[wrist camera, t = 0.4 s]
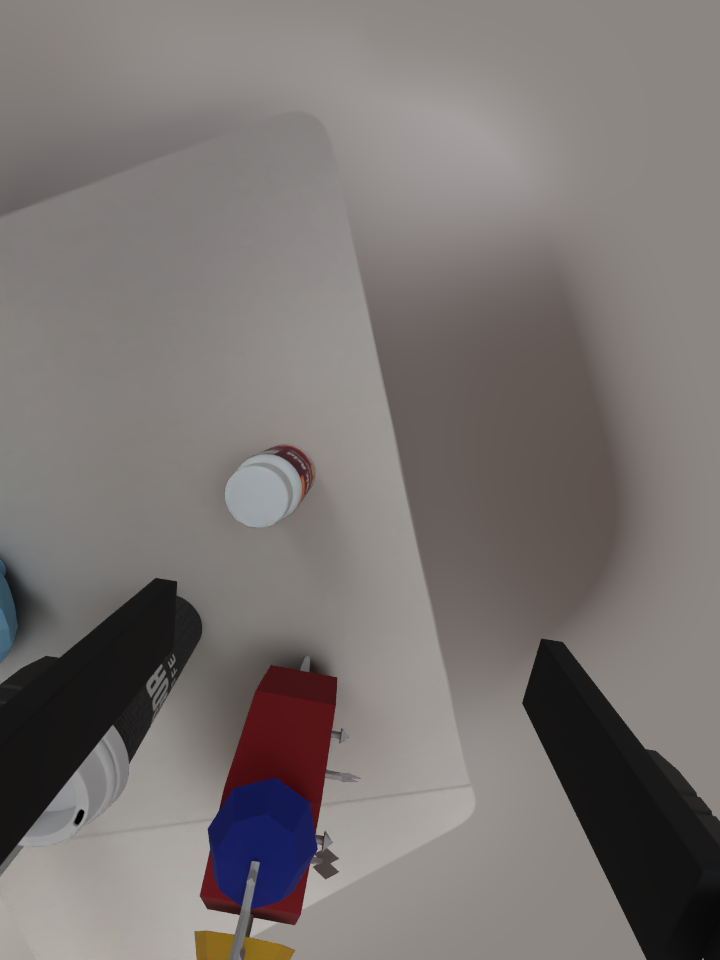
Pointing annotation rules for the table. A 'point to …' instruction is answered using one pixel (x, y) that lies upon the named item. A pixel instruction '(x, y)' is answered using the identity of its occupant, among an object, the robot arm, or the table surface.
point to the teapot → (6, 615)
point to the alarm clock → (271, 813)
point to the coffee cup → (116, 745)
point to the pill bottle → (269, 486)
